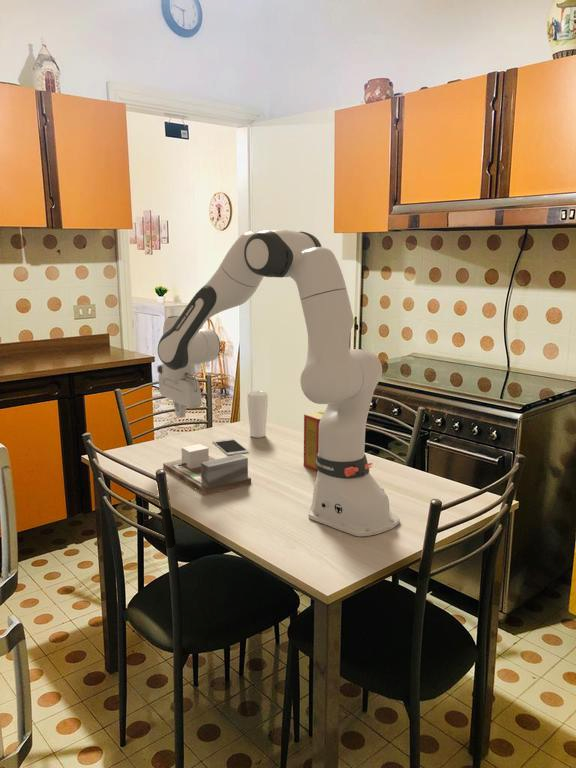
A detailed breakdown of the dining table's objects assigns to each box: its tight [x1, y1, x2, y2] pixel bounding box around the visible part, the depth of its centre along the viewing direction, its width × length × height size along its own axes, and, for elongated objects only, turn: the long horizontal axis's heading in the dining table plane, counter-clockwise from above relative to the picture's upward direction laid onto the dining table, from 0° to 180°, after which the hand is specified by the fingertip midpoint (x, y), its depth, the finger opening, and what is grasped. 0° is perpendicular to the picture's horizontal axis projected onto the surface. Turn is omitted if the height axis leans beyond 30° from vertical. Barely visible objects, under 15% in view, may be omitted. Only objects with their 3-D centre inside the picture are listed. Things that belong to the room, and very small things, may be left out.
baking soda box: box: [303, 410, 325, 473], centre depth 184 cm, size 10×6×16 cm
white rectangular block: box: [178, 443, 210, 469], centre depth 180 cm, size 5×8×5 cm, turn 127°
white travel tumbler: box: [247, 390, 269, 439], centre depth 213 cm, size 7×7×15 cm
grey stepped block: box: [162, 454, 252, 496], centre depth 176 cm, size 25×14×8 cm, turn 36°
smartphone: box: [212, 438, 250, 457], centre depth 202 cm, size 7×16×1 cm, turn 24°
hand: (180, 416), depth 185 cm, fingers closed
